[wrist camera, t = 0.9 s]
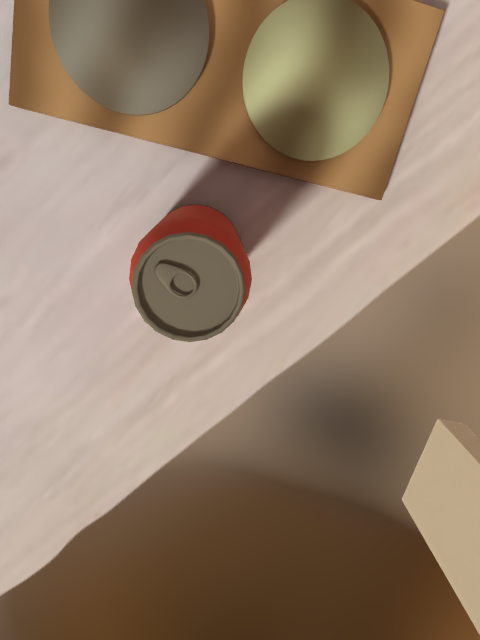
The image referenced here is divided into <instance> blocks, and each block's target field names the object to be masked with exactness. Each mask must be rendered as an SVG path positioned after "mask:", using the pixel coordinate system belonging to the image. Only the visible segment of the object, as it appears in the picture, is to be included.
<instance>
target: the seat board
mask: <svg viewBox="0 0 480 640" xmlns="http://www.w3.org/2000/svg"><path fill="white" fill-rule="evenodd" d="M443 14H444V10H441V9H438V8H435V7H432V6H429V5H426V4H423V3H420V2H417V1H414V0H14V17H13V35H12V54H11V72H10V91H9V105H12V106H15V107H18V108H22V109H26V110H30V111H34V112H38V113H42V114H46V115H50V116H54V117H57V118H61V119H65V120H69V121H73V122H77V123H81V124H85V125H89V126H92V127H96V128H100V129H104V130H108V131H112V132H116V133H120V134H124V135H128V136H131V137H135V138H139V139H143V140H147V141H151V142H155V143H159V144H163V145H166V146H170V147H174V148H178V149H182V150H186V151H190V152H194V153H198V154H202V155H205V156H209V157H213V158H217V159H221V160H225V161H229V162H233V163H237V164H241V165H244V166H248V167H252V168H256V169H260V170H264V171H268V172H272V173H276V174H279V175H283V176H287V177H291V178H295V179H299V180H303V181H307V182H311V183H315V184H318V185H322V186H326V187H330V188H334V189H338V190H342V191H346V192H350V193H353V194H357V195H361V196H365V197H369V198H373V199H377V200H382V197H383V194H384V191H385V188H386V185H387V182H388V179H389V176H390V173H391V170H392V167H393V164H394V161H395V158H396V155H397V152H398V149H399V146H400V143H401V140H402V137H403V134H404V131H405V128H406V125H407V122H408V119H409V116H410V113H411V110H412V107H413V104H414V101H415V98H416V95H417V92H418V89H419V86H420V83H421V80H422V77H423V74H424V71H425V68H426V65H427V62H428V59H429V56H430V53H431V50H432V47H433V44H434V41H435V38H436V35H437V32H438V29H439V26H440V23H441V20H442V17H443Z"/></svg>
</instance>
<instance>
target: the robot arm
mask: <svg viewBox="0 0 480 640" xmlns="http://www.w3.org/2000/svg"><path fill="white" fill-rule="evenodd" d="M402 501H403V503H404V504H405V506H406V508H407V510H408V511H409V513H410V515H411V516H412V518H413V520H414V522H415V523H416V525H417V527H418V529H419V530H420V532H421V534H422V535H423V537H424V539H425V541H426V542H427V544H428V546H429V548H430V549H431V551H432V553H433V555H434V556H435V558H436V560H437V562H438V563H439V565H440V567H441V568H442V570H443V572H444V574H445V575H446V577H447V579H448V581H449V582H450V584H451V586H452V588H453V589H454V591H455V593H456V594H457V596H458V598H459V600H460V601H461V603H462V605H463V606H464V608H465V610H466V612H467V614H468V615H469V617H470V619H471V620H472V622H473V624H474V626H475V627H476V629H477V631H478V632H479V634H480V439H479V438H478V437H477V436H476V435H475V434H474V433H473V432H472V431H471V430H470V429H469V428H468V427H467V426H466V425H465V424H464V423H460V422H454V421H449V420H444V419H437V422H436V424H435V426H434V428H433V430H432V433H431V435H430V437H429V439H428V442H427V444H426V446H425V448H424V451H423V453H422V455H421V457H420V459H419V462H418V464H417V466H416V468H415V471H414V473H413V475H412V477H411V480H410V482H409V484H408V486H407V489H406V491H405V493H404V495H403V497H402Z"/></svg>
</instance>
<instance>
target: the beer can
mask: <svg viewBox="0 0 480 640" xmlns="http://www.w3.org/2000/svg"><path fill="white" fill-rule="evenodd" d="M129 279H130V285H131V289H132V294H133V298H134V302H135V306H136V308H137V309H138V311H139V313H140V314H141V316H142V318H143V319H144V321H145V322H146V323H148V324H149V325H150V326H151V327H152V328H153V329H154V330H155V331H156V332H158V333H160V334H162V335H164V336H166V337H169V338H171V339H173V340H180V341H187V342H193V341H200V340H207V339H209V338H211V337H213V336H215V335H217V334H220V333H222V332H223V331H224V330H225V329H226V328H227V327H228V326H229V325H230V324H232V323H233V322H234V320H235V319H236V317H237V316H238V315H239V313H240V311H241V310H242V308H243V306H244V304H245V303H246V301H247V299H248V296H249V291H250V286H251V281H252V278H251V269H250V261H249V259H248V257H247V254H246V252H245V250H244V248H243V245H242V243H241V241H240V238H239V236H238V234H237V232H236V230H235V228H234V226H233V224H232V223H231V222H230V221H229V220H228V219H227V217H226V216H225V215H224V214H222V213H221V212H219V211H217V210H215V209H213V208H211V207H208V206H203V205H197V204H196V205H188V206H182V207H180V208H178V209H176V210H174V211H172V212H170V213H169V214H168V215H167V216H166V217H164V218H163V219H162V220H161V221H160V222H159V223H158V224H157V225H156V226H155V227H154V228H153V229H152V230H151V231H150V232H149V233H148V234H147V235H146V236H145V237H144V238H143V239H142V240H141V241H140V242H139V244H138V246H137V248H136V250H135V253H134V255H133V257H132V259H131V267H130V277H129Z"/></svg>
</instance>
